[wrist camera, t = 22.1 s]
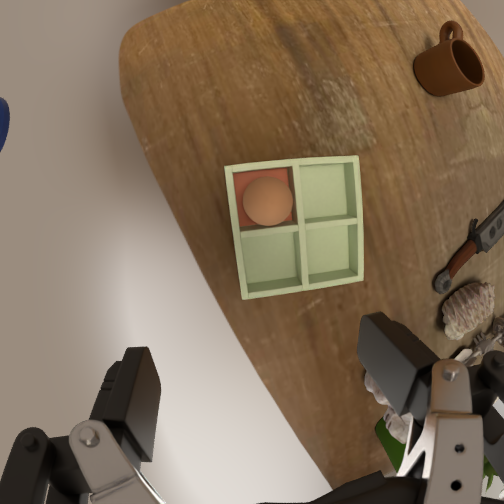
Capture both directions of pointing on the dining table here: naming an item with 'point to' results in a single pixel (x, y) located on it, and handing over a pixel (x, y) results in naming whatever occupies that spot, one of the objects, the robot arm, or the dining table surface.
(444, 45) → the mug
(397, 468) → the wine bottle
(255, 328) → the dining table surface
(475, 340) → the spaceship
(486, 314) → the seashell
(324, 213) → the egg tray
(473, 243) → the knife
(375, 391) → the figurine
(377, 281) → the dining table surface
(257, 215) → the egg
